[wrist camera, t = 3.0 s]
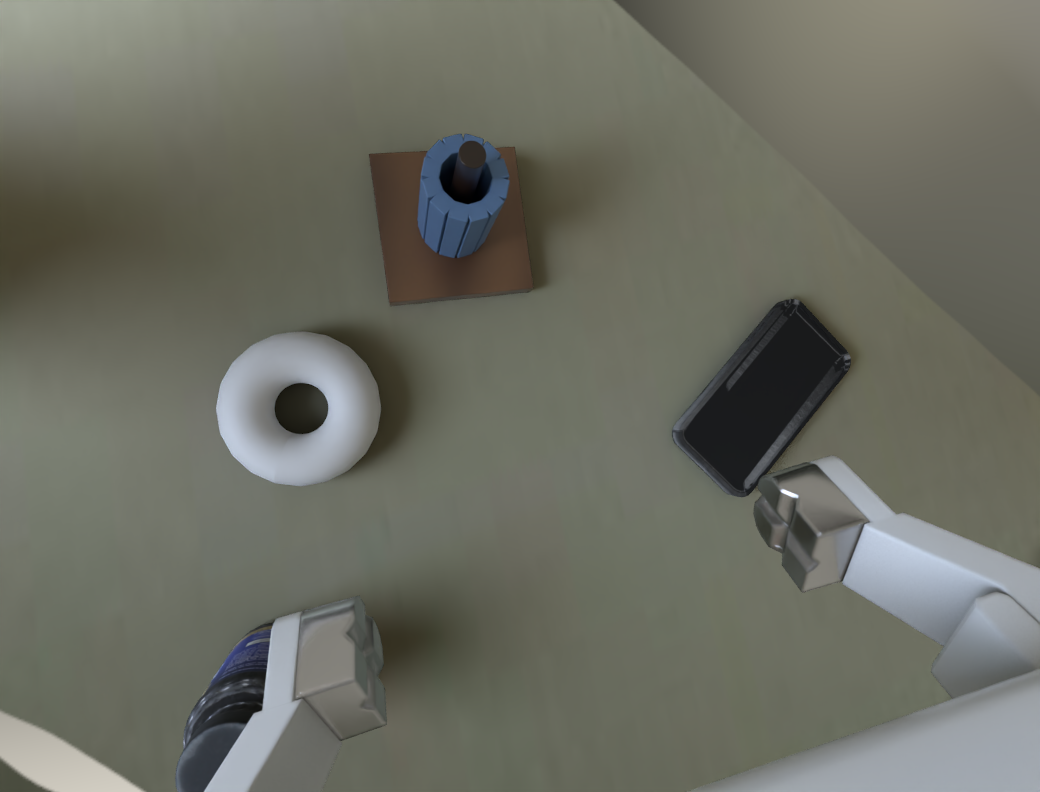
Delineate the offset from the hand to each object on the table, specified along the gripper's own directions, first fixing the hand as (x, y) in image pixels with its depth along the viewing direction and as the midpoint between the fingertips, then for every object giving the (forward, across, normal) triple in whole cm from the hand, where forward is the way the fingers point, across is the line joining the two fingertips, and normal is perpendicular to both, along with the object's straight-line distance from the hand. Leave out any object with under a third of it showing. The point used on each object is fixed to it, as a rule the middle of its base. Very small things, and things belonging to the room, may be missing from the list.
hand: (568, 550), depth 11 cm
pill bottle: (+16, +18, +26) cm, 35 cm away
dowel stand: (+33, -1, +6) cm, 33 cm away
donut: (+26, +12, +13) cm, 32 cm away
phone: (+24, -21, +22) cm, 39 cm away
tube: (+32, -1, +5) cm, 32 cm away
